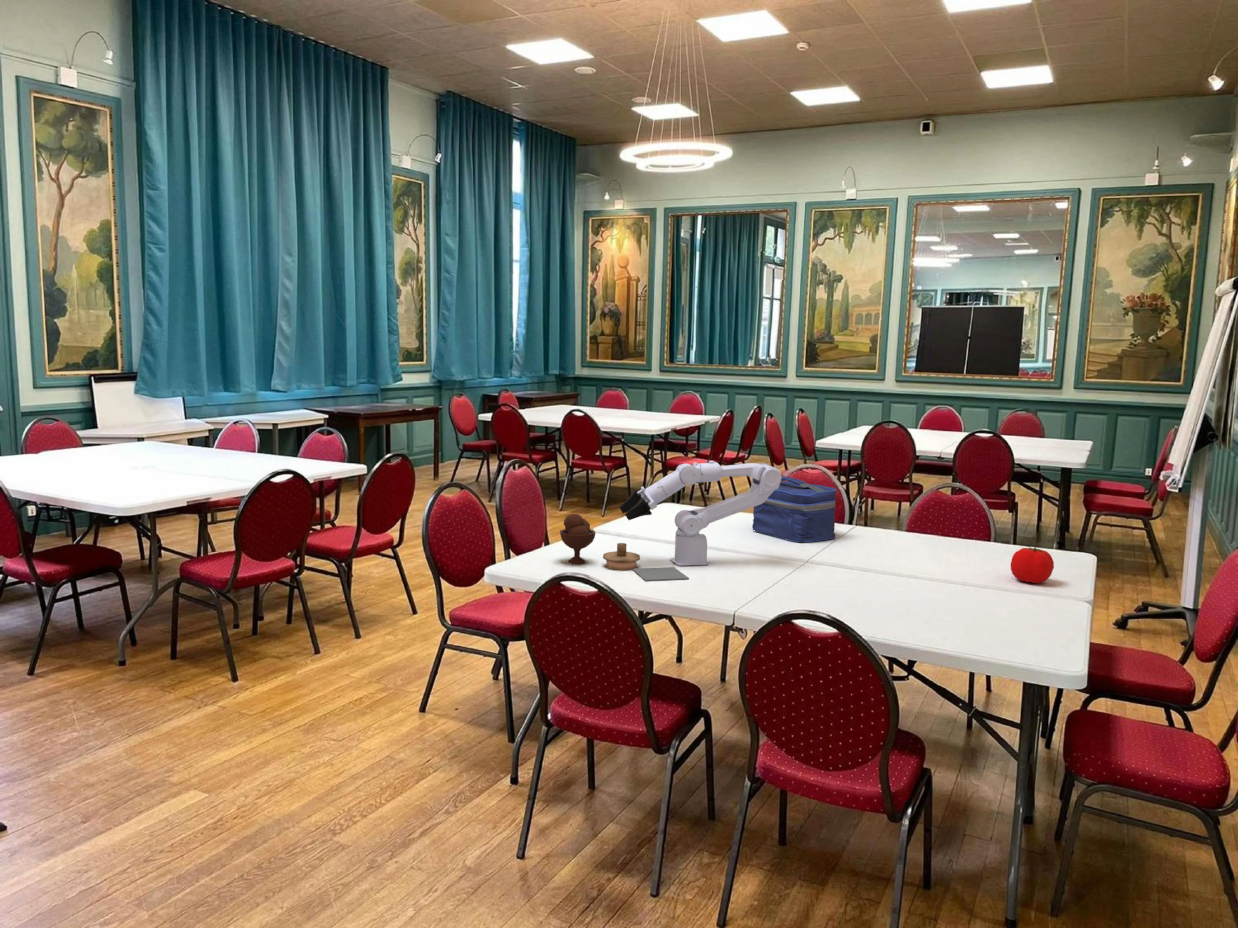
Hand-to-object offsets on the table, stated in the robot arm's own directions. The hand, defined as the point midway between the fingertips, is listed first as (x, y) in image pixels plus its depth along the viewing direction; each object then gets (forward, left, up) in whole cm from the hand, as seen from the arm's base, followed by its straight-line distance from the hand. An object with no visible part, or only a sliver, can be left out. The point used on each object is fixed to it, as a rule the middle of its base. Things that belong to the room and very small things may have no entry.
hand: (623, 513), depth 274 cm
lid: (+1, +3, -13) cm, 13 cm away
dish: (+1, +3, -15) cm, 16 cm away
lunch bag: (-73, -33, -16) cm, 81 cm away
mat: (-7, +15, -15) cm, 22 cm away
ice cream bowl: (+13, -4, -16) cm, 21 cm away
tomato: (-114, +40, -16) cm, 122 cm away
